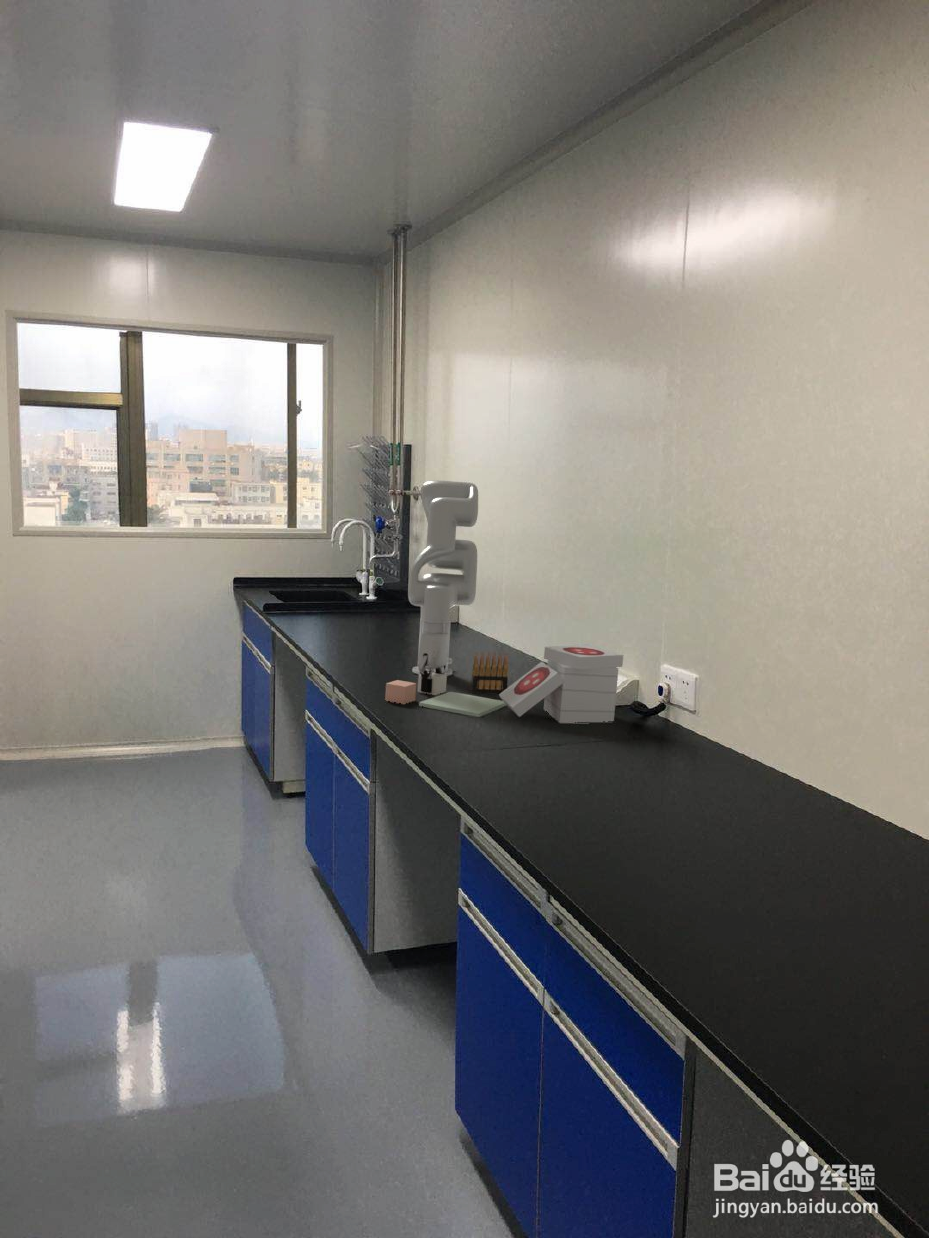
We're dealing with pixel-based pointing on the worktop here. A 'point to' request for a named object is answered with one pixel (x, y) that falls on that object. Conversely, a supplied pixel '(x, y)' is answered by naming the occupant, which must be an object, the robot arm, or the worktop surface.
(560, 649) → the pizza boxes
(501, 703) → the base plate
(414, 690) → the coral brick
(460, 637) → the worktop surface
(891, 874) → the worktop surface
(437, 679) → the cream brick
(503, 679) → the ammunition clip
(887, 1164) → the worktop surface
